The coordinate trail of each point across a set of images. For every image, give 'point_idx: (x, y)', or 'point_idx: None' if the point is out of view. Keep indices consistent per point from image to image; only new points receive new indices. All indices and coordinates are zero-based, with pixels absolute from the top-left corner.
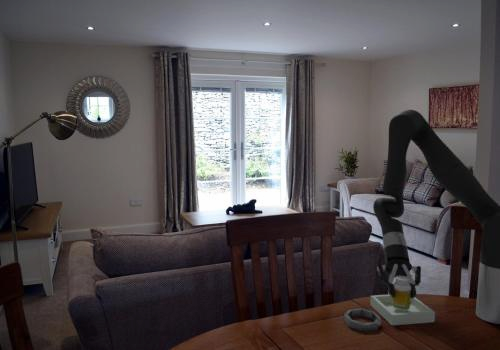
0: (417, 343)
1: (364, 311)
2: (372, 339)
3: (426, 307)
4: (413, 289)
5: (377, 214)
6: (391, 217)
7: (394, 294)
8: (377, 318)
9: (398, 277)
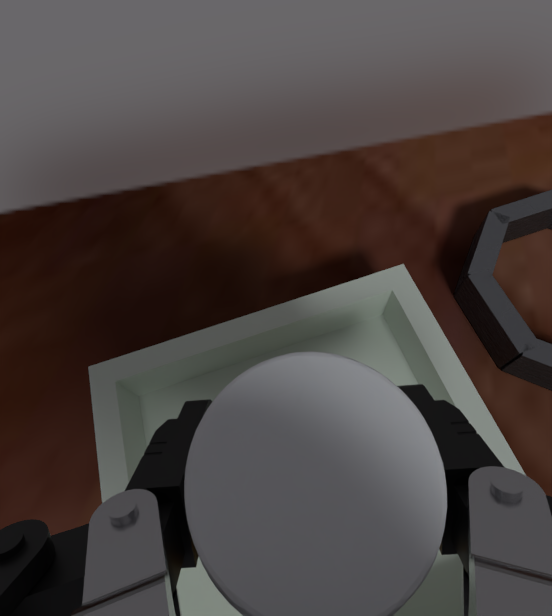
0: (288, 171)
1: None
2: (486, 161)
3: (115, 439)
4: (171, 440)
5: None
6: None
7: (403, 386)
8: (491, 268)
9: (391, 486)
